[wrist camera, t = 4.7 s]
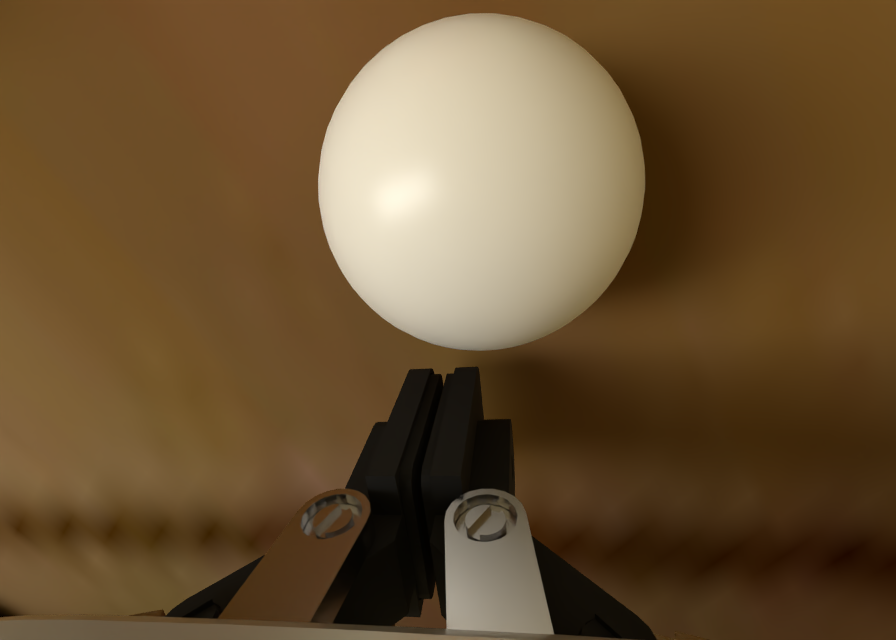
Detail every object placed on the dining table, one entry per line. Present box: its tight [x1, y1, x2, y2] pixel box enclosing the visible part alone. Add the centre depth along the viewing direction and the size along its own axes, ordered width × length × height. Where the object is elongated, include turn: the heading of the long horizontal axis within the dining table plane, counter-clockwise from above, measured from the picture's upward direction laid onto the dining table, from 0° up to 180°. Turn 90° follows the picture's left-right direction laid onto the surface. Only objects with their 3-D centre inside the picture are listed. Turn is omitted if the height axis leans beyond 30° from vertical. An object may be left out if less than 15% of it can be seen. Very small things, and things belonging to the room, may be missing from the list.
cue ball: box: [318, 13, 645, 351], centre depth 9 cm, size 6×6×6 cm
